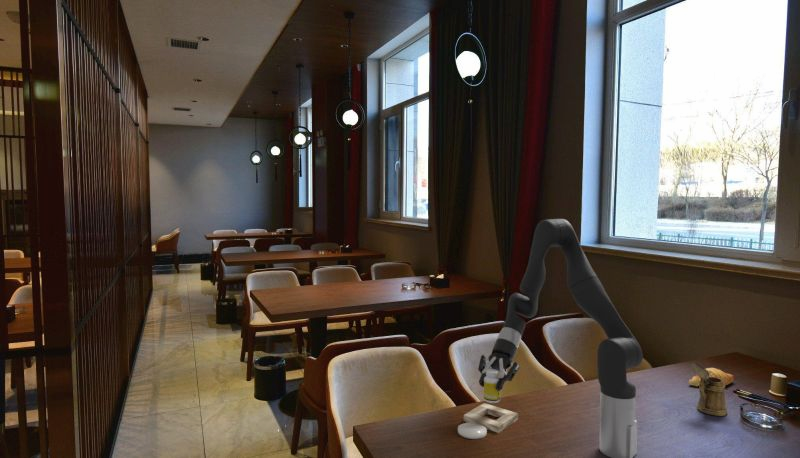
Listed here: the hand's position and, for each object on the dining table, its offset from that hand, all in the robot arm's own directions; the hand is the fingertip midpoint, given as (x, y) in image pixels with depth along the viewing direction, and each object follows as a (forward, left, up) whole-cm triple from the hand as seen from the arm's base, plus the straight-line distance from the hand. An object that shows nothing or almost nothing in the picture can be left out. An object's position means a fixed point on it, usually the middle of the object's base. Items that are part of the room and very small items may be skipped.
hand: (489, 387), depth 158 cm
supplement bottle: (0, -2, -5) cm, 5 cm away
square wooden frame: (0, -2, -12) cm, 12 cm away
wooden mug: (-53, -57, -12) cm, 79 cm away
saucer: (0, +10, -12) cm, 15 cm away
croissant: (-49, -90, -12) cm, 103 cm away
